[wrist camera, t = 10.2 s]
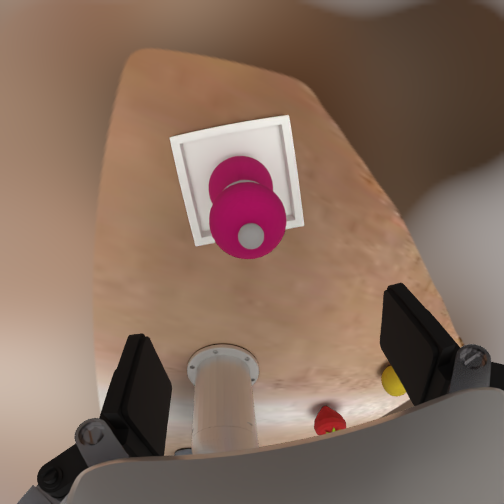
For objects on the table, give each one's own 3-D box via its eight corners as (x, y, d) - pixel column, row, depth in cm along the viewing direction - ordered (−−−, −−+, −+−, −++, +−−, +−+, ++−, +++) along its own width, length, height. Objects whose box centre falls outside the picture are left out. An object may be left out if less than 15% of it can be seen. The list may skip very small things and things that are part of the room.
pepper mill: (277, 167, 38) (325, 215, 20) (252, 216, 41) (274, 302, 23) (225, 142, 37) (224, 168, 18) (201, 194, 39) (180, 266, 21)
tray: (299, 218, 42) (304, 225, 40) (197, 237, 42) (195, 246, 40) (284, 115, 36) (288, 115, 34) (173, 136, 36) (169, 137, 34)
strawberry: (327, 417, 62) (337, 452, 53) (302, 410, 60) (312, 448, 51) (345, 403, 61) (358, 438, 52) (321, 395, 58) (333, 433, 49)
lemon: (372, 376, 58) (385, 404, 51) (382, 357, 56) (398, 385, 48) (393, 375, 59) (407, 402, 51) (403, 356, 56) (420, 383, 49)
